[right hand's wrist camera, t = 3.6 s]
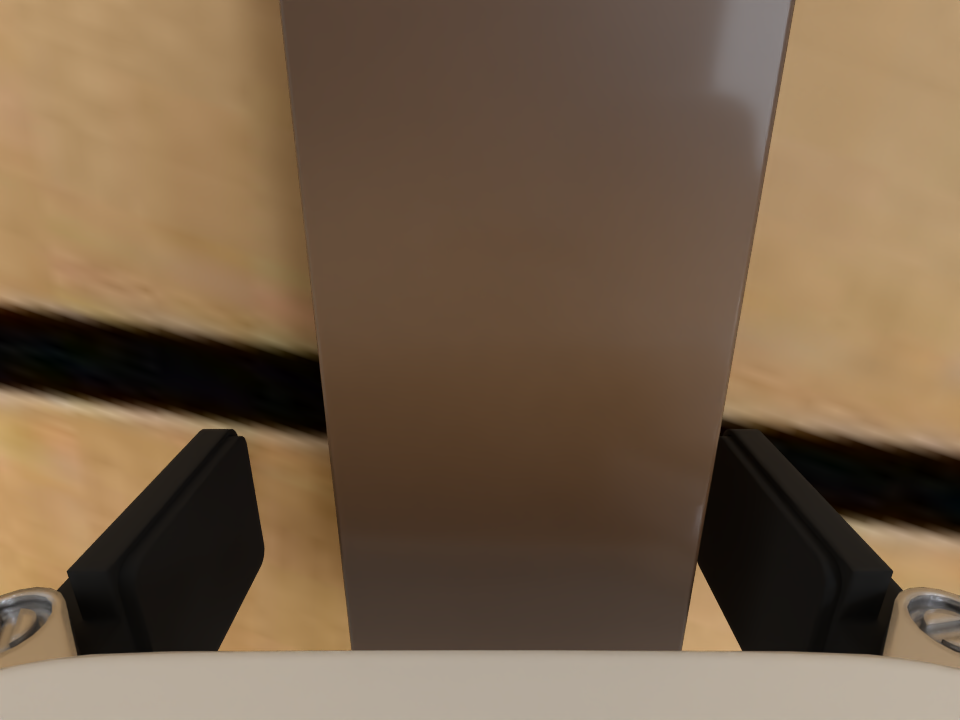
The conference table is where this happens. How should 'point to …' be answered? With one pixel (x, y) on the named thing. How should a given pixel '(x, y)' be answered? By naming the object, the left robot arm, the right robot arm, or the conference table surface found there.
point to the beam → (527, 301)
